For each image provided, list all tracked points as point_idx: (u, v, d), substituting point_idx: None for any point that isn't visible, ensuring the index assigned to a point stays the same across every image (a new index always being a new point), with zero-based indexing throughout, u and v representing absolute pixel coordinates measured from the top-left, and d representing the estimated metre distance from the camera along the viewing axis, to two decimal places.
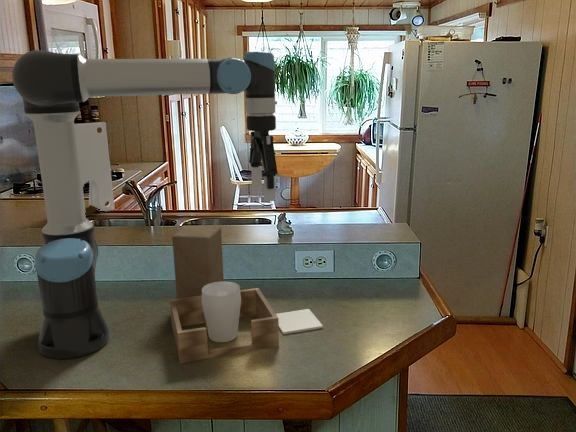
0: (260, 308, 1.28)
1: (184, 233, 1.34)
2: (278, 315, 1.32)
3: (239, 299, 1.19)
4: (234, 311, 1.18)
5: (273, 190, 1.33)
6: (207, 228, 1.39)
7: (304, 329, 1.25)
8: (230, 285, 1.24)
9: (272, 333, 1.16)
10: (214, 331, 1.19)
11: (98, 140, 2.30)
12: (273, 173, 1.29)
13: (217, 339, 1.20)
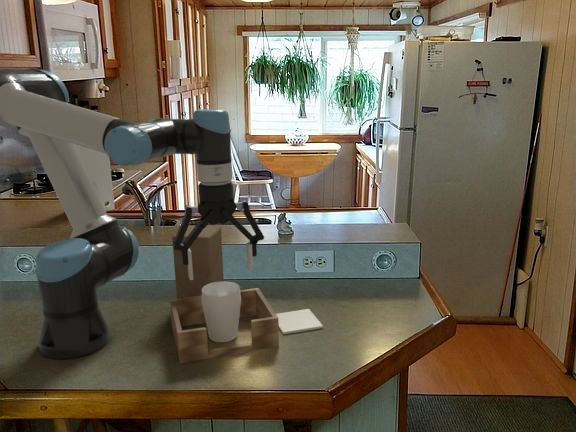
0: (260, 308, 1.28)
1: None
2: (278, 315, 1.32)
3: (239, 299, 1.19)
4: (234, 311, 1.18)
5: (188, 267, 1.15)
6: (207, 228, 1.39)
7: (304, 329, 1.25)
8: (230, 285, 1.24)
9: (272, 333, 1.16)
10: (214, 331, 1.19)
11: None
12: None
13: (217, 339, 1.20)
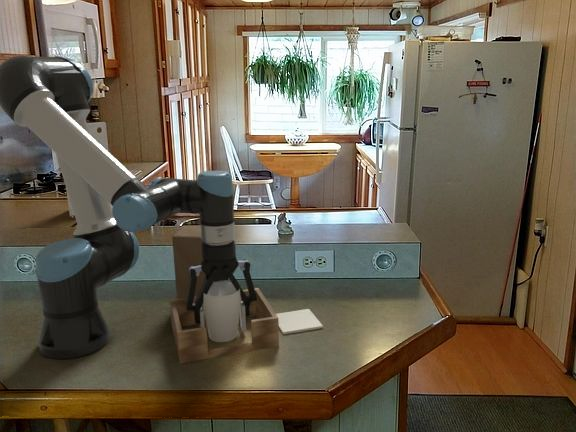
0: (260, 308, 1.28)
1: (184, 233, 1.34)
2: (278, 315, 1.32)
3: (239, 299, 1.19)
4: (234, 311, 1.18)
5: (200, 326, 1.20)
6: None
7: (304, 329, 1.25)
8: (230, 285, 1.24)
9: (272, 333, 1.16)
10: (214, 331, 1.19)
11: (98, 140, 2.30)
12: None
13: (217, 339, 1.20)
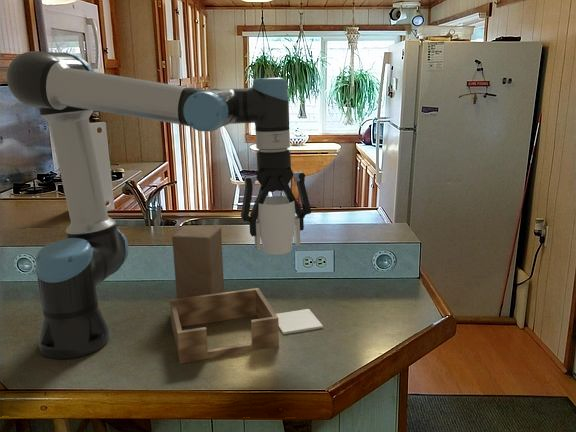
0: (260, 308, 1.28)
1: (184, 233, 1.34)
2: (278, 315, 1.32)
3: (294, 210, 1.18)
4: (290, 221, 1.17)
5: (256, 239, 1.19)
6: (207, 228, 1.39)
7: (304, 329, 1.25)
8: (283, 200, 1.23)
9: (272, 333, 1.16)
10: (269, 243, 1.18)
11: (98, 140, 2.30)
12: (242, 218, 1.17)
13: (272, 251, 1.19)
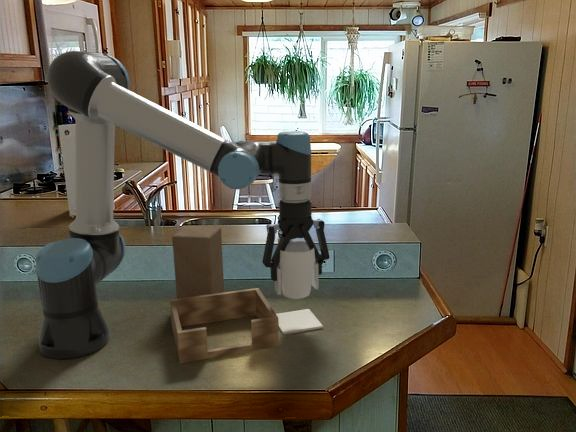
0: (260, 308, 1.28)
1: (184, 233, 1.34)
2: (278, 315, 1.32)
3: (314, 257, 1.23)
4: (310, 267, 1.22)
5: (277, 283, 1.24)
6: (207, 228, 1.39)
7: (304, 329, 1.25)
8: (302, 245, 1.28)
9: (272, 333, 1.16)
10: (290, 287, 1.23)
11: None
12: (264, 264, 1.22)
13: (292, 295, 1.24)
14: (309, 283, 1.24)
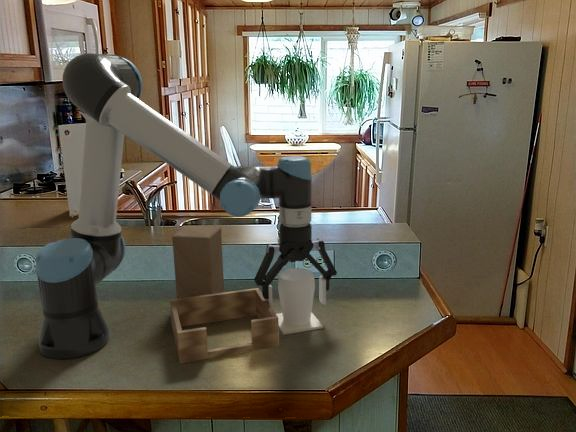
0: (260, 308, 1.28)
1: (184, 233, 1.34)
2: (278, 315, 1.32)
3: (314, 285, 1.25)
4: (310, 295, 1.24)
5: (268, 301, 1.24)
6: (207, 228, 1.39)
7: (304, 329, 1.25)
8: (302, 272, 1.30)
9: (272, 333, 1.16)
10: (290, 315, 1.25)
11: None
12: (256, 282, 1.23)
13: (293, 323, 1.26)
14: (309, 310, 1.26)
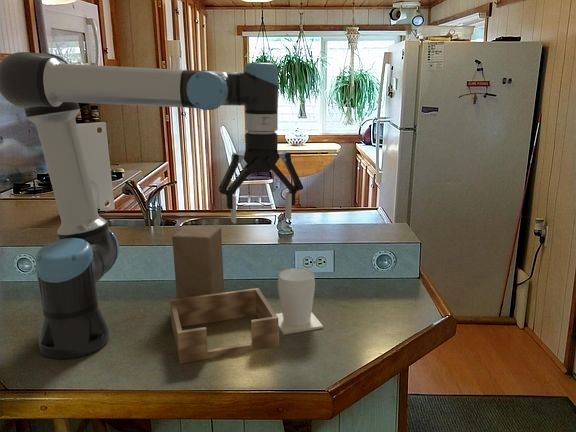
0: (260, 308, 1.28)
1: (184, 233, 1.34)
2: (278, 315, 1.32)
3: (314, 285, 1.25)
4: (310, 295, 1.24)
5: (232, 211, 1.23)
6: (207, 228, 1.39)
7: (304, 329, 1.25)
8: (302, 272, 1.30)
9: (272, 333, 1.16)
10: (290, 315, 1.25)
11: (98, 140, 2.30)
12: (219, 191, 1.22)
13: (293, 323, 1.26)
14: (309, 310, 1.26)
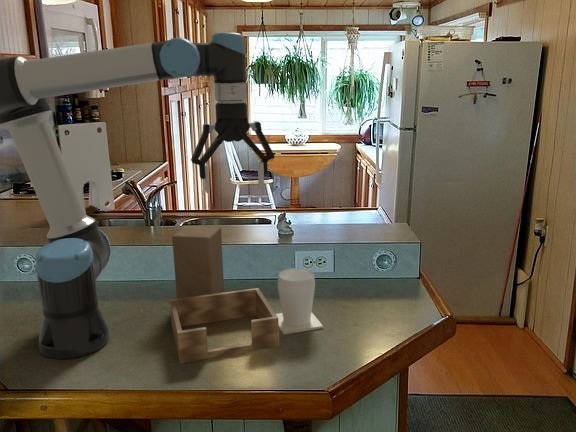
0: (260, 308, 1.28)
1: (184, 233, 1.34)
2: (278, 315, 1.32)
3: (314, 285, 1.25)
4: (310, 295, 1.24)
5: (205, 181, 1.26)
6: (207, 228, 1.39)
7: (304, 329, 1.25)
8: (302, 272, 1.30)
9: (272, 333, 1.16)
10: (290, 315, 1.25)
11: (98, 140, 2.30)
12: (192, 161, 1.25)
13: (293, 323, 1.26)
14: (309, 310, 1.26)
